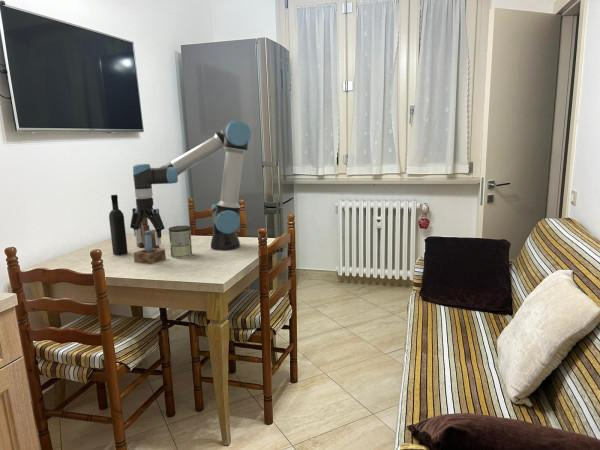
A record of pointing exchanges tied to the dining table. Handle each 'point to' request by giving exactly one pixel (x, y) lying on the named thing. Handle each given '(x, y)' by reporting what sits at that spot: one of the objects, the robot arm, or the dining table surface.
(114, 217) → the wine bottle
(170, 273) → the dining table surface
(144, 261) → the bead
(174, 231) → the glass jar
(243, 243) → the dining table surface
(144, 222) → the wooden toy
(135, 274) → the dining table surface
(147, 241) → the grey rod
